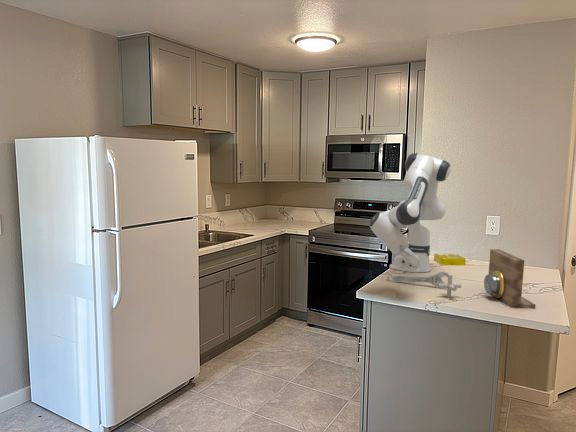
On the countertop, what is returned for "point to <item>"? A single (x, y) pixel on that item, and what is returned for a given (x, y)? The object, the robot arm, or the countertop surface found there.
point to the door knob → (495, 284)
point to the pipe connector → (449, 285)
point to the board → (510, 277)
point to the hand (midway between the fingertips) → (419, 266)
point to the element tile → (449, 259)
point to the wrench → (421, 278)
